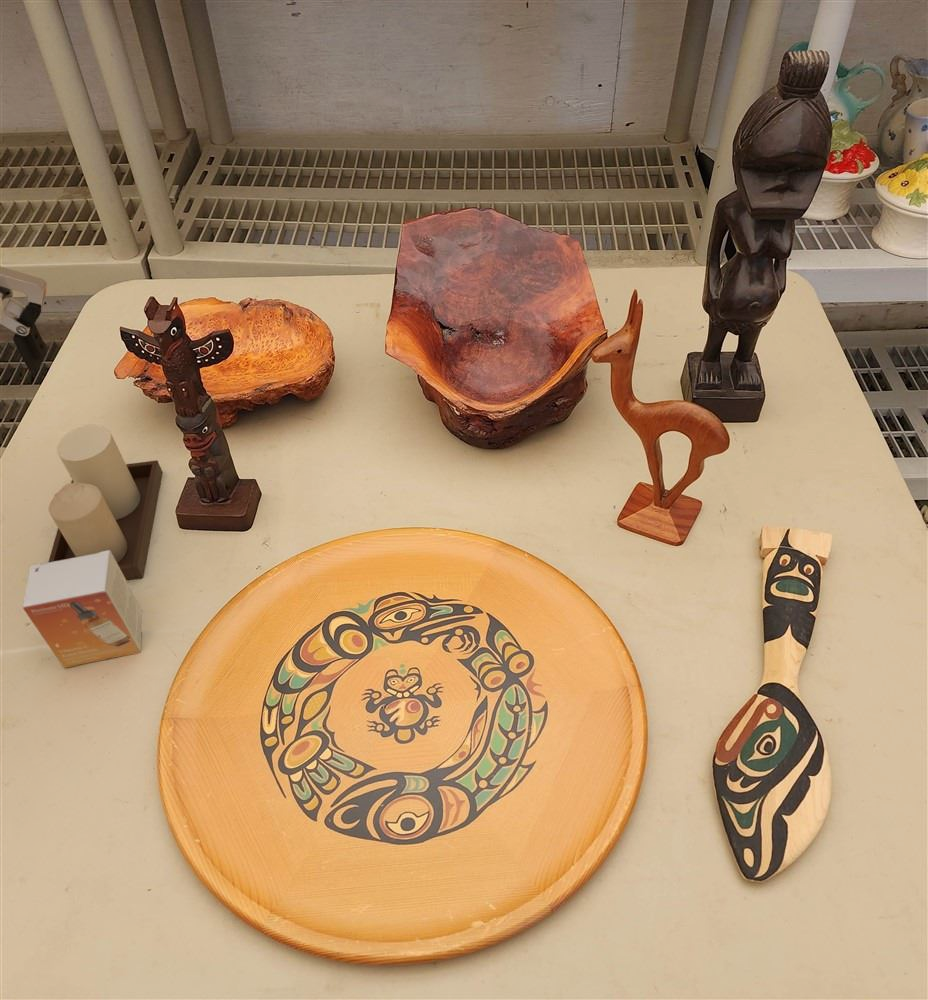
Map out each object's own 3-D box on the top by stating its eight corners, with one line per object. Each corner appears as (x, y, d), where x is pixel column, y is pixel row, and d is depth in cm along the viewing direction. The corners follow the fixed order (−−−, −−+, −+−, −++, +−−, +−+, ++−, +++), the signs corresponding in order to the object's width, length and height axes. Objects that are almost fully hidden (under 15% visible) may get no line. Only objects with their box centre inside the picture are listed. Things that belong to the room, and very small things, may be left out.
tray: (52, 593, 96) (43, 579, 94) (82, 485, 108) (74, 470, 106) (144, 581, 96) (136, 566, 94) (164, 475, 108) (157, 460, 106)
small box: (63, 669, 89) (19, 608, 81) (69, 626, 93) (27, 564, 85) (142, 653, 90) (105, 591, 82) (145, 611, 93) (110, 548, 86)
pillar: (86, 524, 102) (51, 463, 95) (95, 488, 106) (62, 428, 99) (136, 518, 102) (106, 456, 95) (144, 482, 107) (115, 421, 99)
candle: (125, 567, 97) (92, 506, 90) (76, 575, 97) (38, 514, 90) (130, 531, 101) (99, 470, 94) (82, 539, 101) (47, 478, 93)
